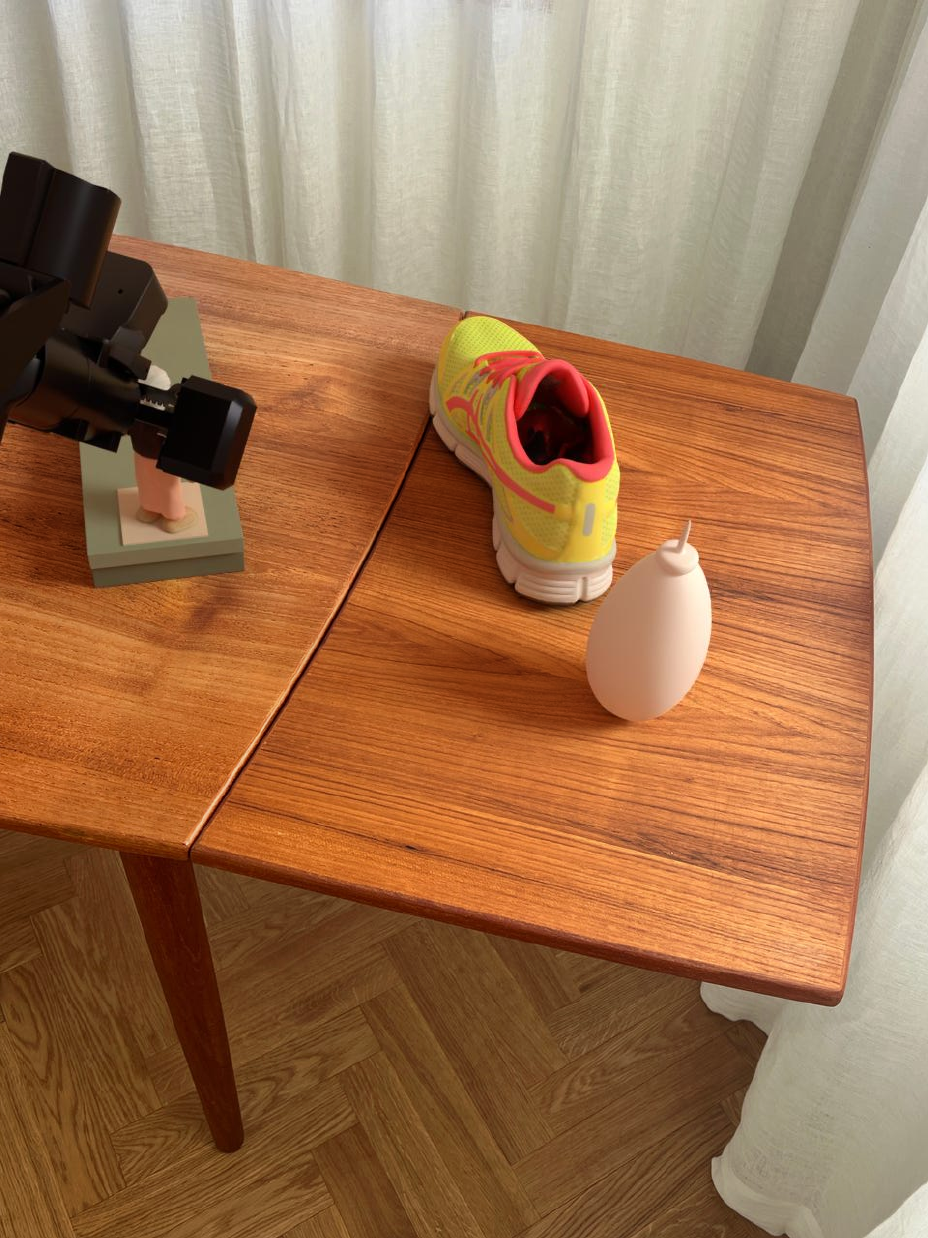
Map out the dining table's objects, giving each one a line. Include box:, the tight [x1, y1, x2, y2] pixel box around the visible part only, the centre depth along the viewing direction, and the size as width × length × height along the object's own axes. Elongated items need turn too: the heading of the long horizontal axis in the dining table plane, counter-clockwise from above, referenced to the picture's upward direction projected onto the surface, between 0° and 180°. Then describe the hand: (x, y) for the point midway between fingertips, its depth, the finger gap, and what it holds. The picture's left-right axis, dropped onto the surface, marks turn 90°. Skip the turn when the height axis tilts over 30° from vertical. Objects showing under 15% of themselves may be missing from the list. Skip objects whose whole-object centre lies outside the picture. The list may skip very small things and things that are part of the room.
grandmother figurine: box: [128, 365, 198, 533], centre depth 77 cm, size 8×4×13 cm, turn 74°
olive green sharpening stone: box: [78, 296, 246, 589], centre depth 92 cm, size 32×11×4 cm, turn 15°
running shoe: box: [428, 315, 621, 606], centre depth 90 cm, size 12×31×14 cm, turn 18°
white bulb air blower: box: [585, 520, 713, 722], centre depth 73 cm, size 8×8×18 cm
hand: (160, 424), depth 78 cm, fingers closed on grandmother figurine, 6 cm apart
